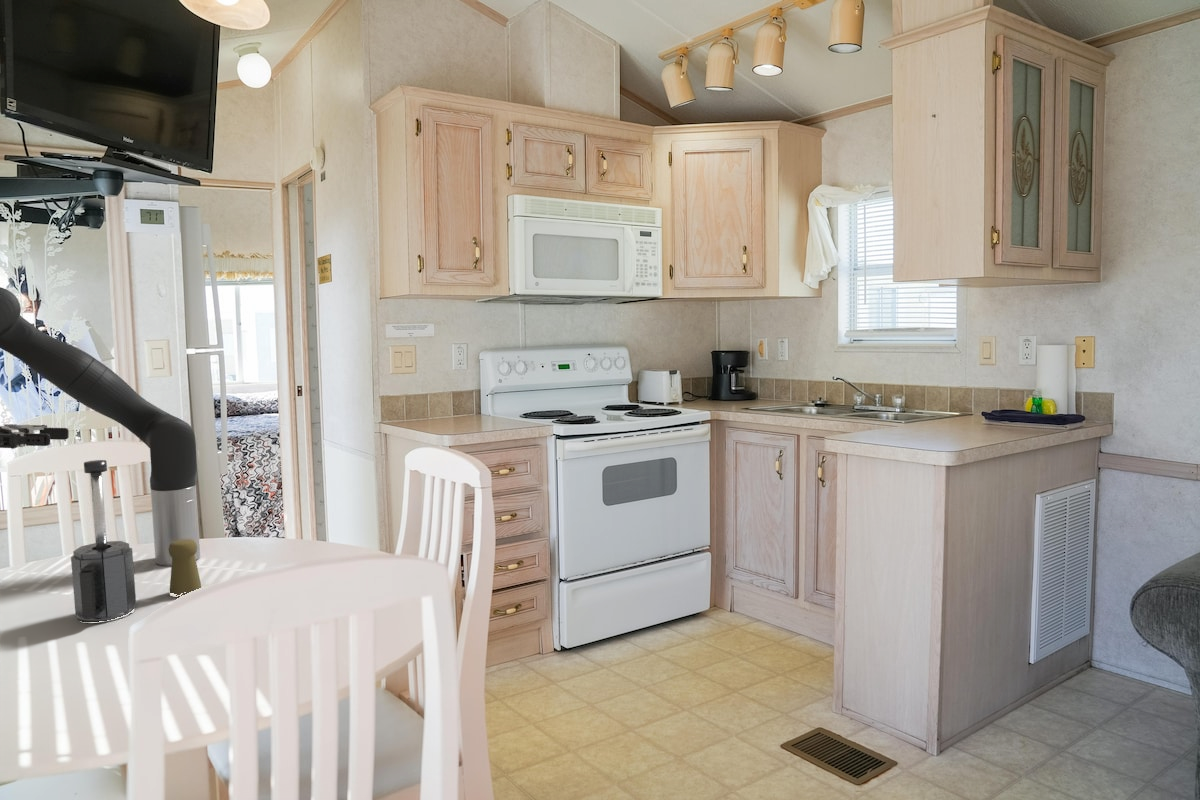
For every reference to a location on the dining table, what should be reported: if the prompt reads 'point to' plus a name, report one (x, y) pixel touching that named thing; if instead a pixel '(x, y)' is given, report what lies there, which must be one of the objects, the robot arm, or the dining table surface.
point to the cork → (183, 567)
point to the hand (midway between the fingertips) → (59, 436)
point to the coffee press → (103, 581)
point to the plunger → (98, 500)
